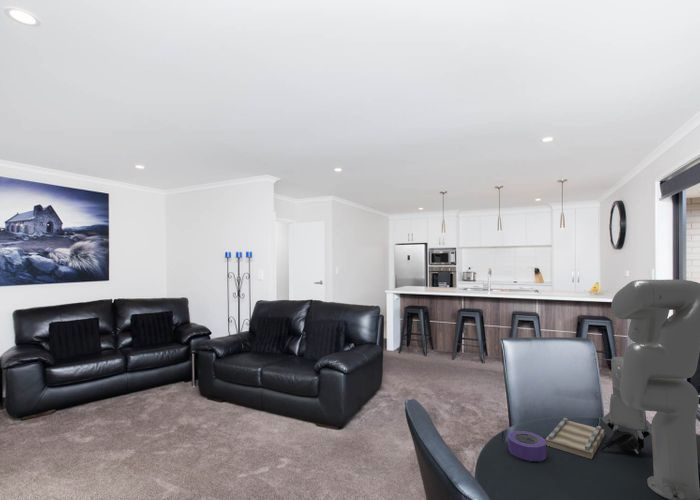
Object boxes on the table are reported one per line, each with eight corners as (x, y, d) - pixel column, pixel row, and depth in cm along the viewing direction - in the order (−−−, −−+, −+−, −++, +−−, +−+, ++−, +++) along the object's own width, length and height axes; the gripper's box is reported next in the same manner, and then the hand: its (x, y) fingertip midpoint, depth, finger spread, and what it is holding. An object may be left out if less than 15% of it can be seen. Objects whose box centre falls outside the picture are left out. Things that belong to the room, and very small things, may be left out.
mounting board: (591, 459, 119) (591, 449, 119) (545, 445, 129) (545, 436, 129) (604, 435, 136) (604, 426, 137) (562, 424, 146) (562, 416, 146)
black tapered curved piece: (593, 444, 127) (621, 424, 127) (608, 462, 126) (636, 443, 126) (603, 451, 121) (633, 431, 121) (618, 471, 121) (648, 450, 120)
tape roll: (536, 466, 115) (536, 450, 116) (502, 452, 124) (501, 437, 125) (552, 454, 123) (551, 439, 123) (518, 441, 132) (517, 427, 132)
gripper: (658, 396, 124) (662, 450, 122) (598, 386, 136) (601, 435, 134) (656, 401, 118) (660, 458, 117) (595, 390, 130) (597, 442, 129)
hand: (629, 445), depth 126 cm, fingers closed on black tapered curved piece, 5 cm apart
